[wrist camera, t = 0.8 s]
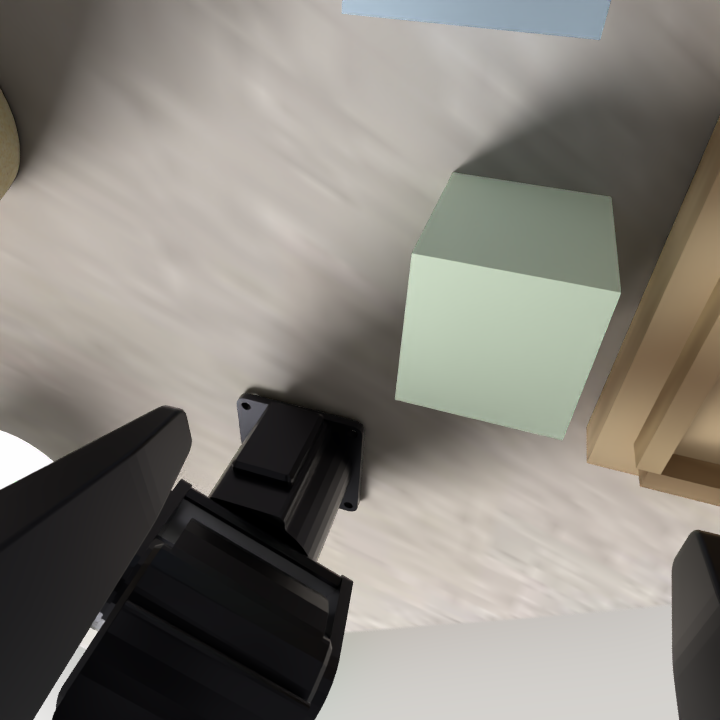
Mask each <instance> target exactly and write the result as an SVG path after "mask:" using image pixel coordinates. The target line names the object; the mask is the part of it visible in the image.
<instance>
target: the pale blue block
mask: <svg viewBox="0 0 720 720" xmlns="http://www.w3.org/2000/svg"><path fill="white" fill-rule="evenodd" d="M610 2H611V0H342V14H351V15H361V16H370V17H380V18H390V19H400V20H409V21H419V22H429V23H439V24H448V25H458V26H468V27H478V28H487V29H497V30H507V31H517V32H527V33H536V34H546V35H556V36H566V37H575V38H585V39H595V40H600V38H601V35H602V31H603V28H604V24H605V20H606V17H607V13H608V10H609V6H610Z"/></svg>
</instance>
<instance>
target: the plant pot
mask: <svg viewBox="0 0 720 720" xmlns="http://www.w3.org/2000/svg"><path fill="white" fill-rule="evenodd" d="M19 163H20V145H19V137H18V133H17V129H16V125H15V121H14V118H13V115H12V113H11V110H10V108H9V105H8V103H7V101H6V99H5V97H4V95H3V93H2V91H1V89H0V200H1V199H2V197H3V196H4V194H5V193H6V192H7V190H8V189H9V188H10V186H11V184H12V183H13V181H14V179H15V177H16V175H17V172H18V168H19Z"/></svg>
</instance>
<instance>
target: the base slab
mask: <svg viewBox="0 0 720 720" xmlns="http://www.w3.org/2000/svg"><path fill="white" fill-rule="evenodd" d="M587 463H589V464H593V465H597V466H601V467H605V468H609V469H613V470H617V471H621V472H625V473H629V474H633V475H637V476H639V482H640V486H641V487H645V488H649V489H653V490H657V491H661V492H665V493H669V494H673V495H677V496H681V497H685V498H689V499H693V500H697V501H700V502H704V503H708V504H712V505H716V506H720V116H719V119H718V121H717V123H716V126H715V128H714V130H713V133H712V135H711V137H710V140H709V142H708V144H707V147H706V149H705V152H704V154H703V156H702V159H701V161H700V163H699V166H698V168H697V170H696V173H695V175H694V177H693V180H692V182H691V184H690V187H689V189H688V191H687V194H686V196H685V198H684V201H683V203H682V205H681V208H680V210H679V212H678V215H677V217H676V219H675V222H674V224H673V226H672V229H671V231H670V233H669V236H668V238H667V240H666V243H665V245H664V247H663V250H662V252H661V254H660V257H659V259H658V261H657V264H656V266H655V268H654V271H653V273H652V275H651V278H650V280H649V282H648V285H647V287H646V289H645V292H644V294H643V297H642V299H641V301H640V304H639V306H638V308H637V311H636V313H635V315H634V318H633V320H632V322H631V325H630V327H629V329H628V332H627V334H626V336H625V339H624V341H623V343H622V346H621V348H620V350H619V353H618V355H617V357H616V360H615V362H614V364H613V367H612V369H611V371H610V374H609V376H608V378H607V381H606V383H605V385H604V388H603V390H602V392H601V395H600V397H599V399H598V402H597V404H596V406H595V409H594V411H593V413H592V416H591V418H590V420H589V423H588V425H587Z"/></svg>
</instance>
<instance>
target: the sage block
mask: <svg viewBox="0 0 720 720" xmlns="http://www.w3.org/2000/svg"><path fill="white" fill-rule="evenodd" d="M620 295H621V285H620V276H619V266H618V256H617V246H616V237H615V227H614V217H613V207H612V198H611V197H609V196H603V195H596V194H590V193H584V192H577V191H571V190H564V189H558V188H551V187H545V186H538V185H532V184H526V183H519V182H513V181H506V180H500V179H493V178H487V177H481V176H474V175H468V174H461V173H455V172H453V173H452V175H451V177H450V179H449V181H448V183H447V185H446V187H445V189H444V191H443V193H442V195H441V197H440V199H439V201H438V203H437V204H436V206H435V208H434V210H433V212H432V214H431V216H430V218H429V220H428V222H427V224H426V226H425V228H424V230H423V232H422V234H421V236H420V238H419V240H418V242H417V244H416V246H415V248H414V250H413V252H412V256H411V264H410V273H409V282H408V290H407V299H406V307H405V316H404V324H403V333H402V342H401V350H400V359H399V367H398V376H397V384H396V393H395V400H398V401H402V402H407V403H411V404H415V405H419V406H423V407H427V408H431V409H435V410H439V411H444V412H448V413H452V414H456V415H460V416H464V417H468V418H472V419H476V420H480V421H485V422H489V423H493V424H497V425H501V426H505V427H509V428H513V429H517V430H522V431H526V432H530V433H534V434H538V435H542V436H546V437H550V438H554V439H558V440H563V438H564V436H565V433H566V431H567V428H568V426H569V423H570V421H571V418H572V416H573V413H574V410H575V408H576V405H577V403H578V400H579V398H580V395H581V393H582V390H583V388H584V385H585V383H586V380H587V378H588V375H589V373H590V370H591V368H592V365H593V363H594V360H595V358H596V355H597V353H598V350H599V347H600V345H601V342H602V340H603V337H604V335H605V332H606V330H607V327H608V325H609V322H610V320H611V317H612V315H613V312H614V310H615V307H616V305H617V302H618V300H619V297H620Z"/></svg>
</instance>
